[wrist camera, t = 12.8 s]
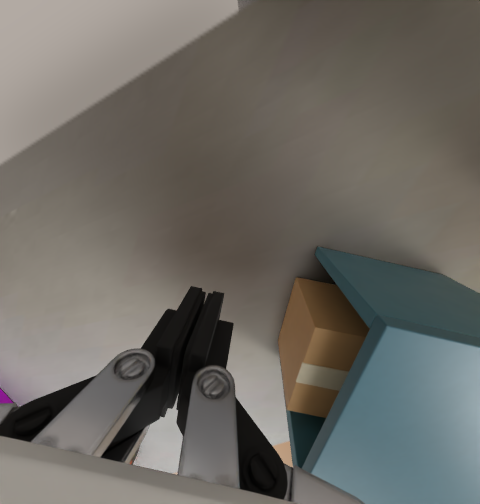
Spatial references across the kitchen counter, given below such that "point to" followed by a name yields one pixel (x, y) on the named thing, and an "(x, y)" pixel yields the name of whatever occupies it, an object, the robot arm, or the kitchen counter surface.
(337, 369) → the box
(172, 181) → the kitchen counter surface
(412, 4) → the kitchen counter surface
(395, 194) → the kitchen counter surface
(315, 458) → the shelf
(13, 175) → the kitchen counter surface
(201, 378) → the robot arm
